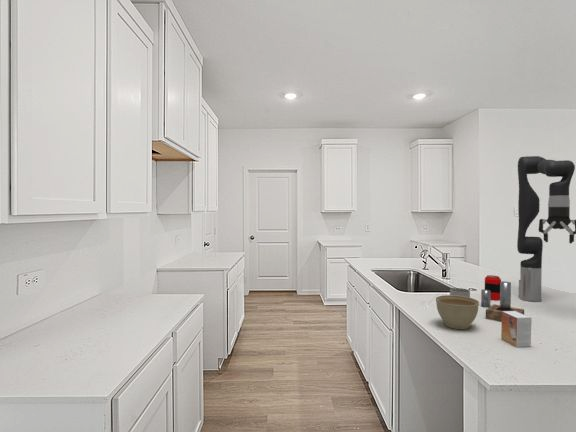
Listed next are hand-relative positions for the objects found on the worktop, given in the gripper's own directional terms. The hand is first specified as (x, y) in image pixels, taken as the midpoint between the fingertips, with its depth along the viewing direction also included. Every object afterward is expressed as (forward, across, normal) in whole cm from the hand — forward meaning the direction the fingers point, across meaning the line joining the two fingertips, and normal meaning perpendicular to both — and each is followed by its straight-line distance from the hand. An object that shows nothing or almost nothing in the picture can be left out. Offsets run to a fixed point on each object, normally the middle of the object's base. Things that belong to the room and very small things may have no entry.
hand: (558, 242), depth 157 cm
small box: (+33, +6, +47) cm, 58 cm away
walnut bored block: (+33, +16, +19) cm, 41 cm away
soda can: (+33, +30, -15) cm, 47 cm away
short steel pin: (+33, +28, +4) cm, 43 cm away
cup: (+33, +34, +20) cm, 52 cm away
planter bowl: (+33, +28, +43) cm, 61 cm away
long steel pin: (+33, +16, +19) cm, 41 cm away
